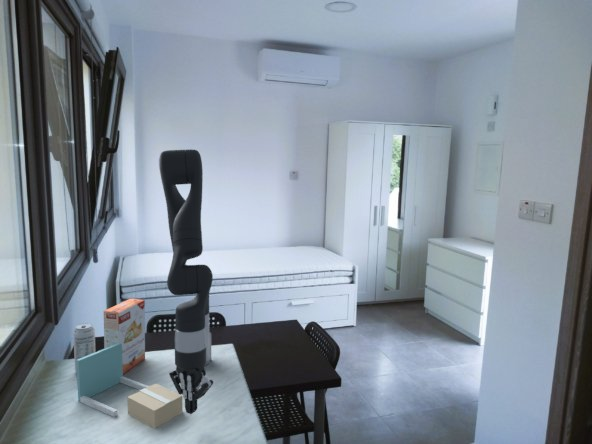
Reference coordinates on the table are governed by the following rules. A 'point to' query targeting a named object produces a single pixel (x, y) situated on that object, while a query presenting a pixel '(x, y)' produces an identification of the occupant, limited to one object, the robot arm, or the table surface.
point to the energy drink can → (83, 341)
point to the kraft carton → (155, 405)
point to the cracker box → (126, 330)
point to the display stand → (102, 376)
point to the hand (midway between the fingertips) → (191, 411)
